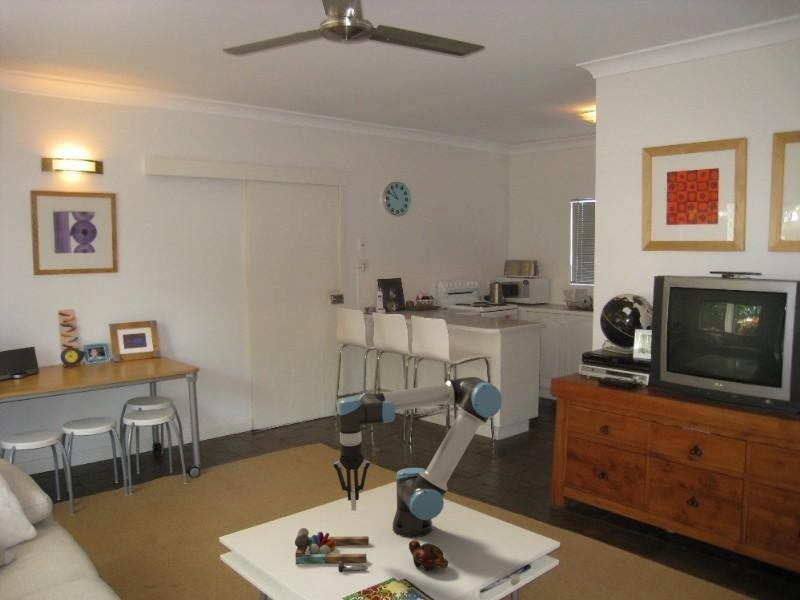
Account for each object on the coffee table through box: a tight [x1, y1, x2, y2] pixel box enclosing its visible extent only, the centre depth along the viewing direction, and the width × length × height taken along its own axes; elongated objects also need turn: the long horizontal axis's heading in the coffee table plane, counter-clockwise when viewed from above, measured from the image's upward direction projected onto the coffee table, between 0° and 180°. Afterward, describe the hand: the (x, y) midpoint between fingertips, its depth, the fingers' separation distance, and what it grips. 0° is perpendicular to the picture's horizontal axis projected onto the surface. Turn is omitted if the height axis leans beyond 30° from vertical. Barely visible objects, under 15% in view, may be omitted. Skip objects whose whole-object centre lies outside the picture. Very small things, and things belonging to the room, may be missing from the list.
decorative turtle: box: [408, 539, 449, 572], centre depth 224 cm, size 10×15×8 cm, turn 60°
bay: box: [294, 527, 370, 565], centre depth 235 cm, size 25×16×8 cm, turn 89°
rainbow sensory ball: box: [308, 531, 337, 554], centre depth 236 cm, size 8×10×7 cm
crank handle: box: [337, 561, 369, 573], centre depth 222 cm, size 10×2×3 cm, turn 89°
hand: (353, 508), depth 234 cm, fingers closed
